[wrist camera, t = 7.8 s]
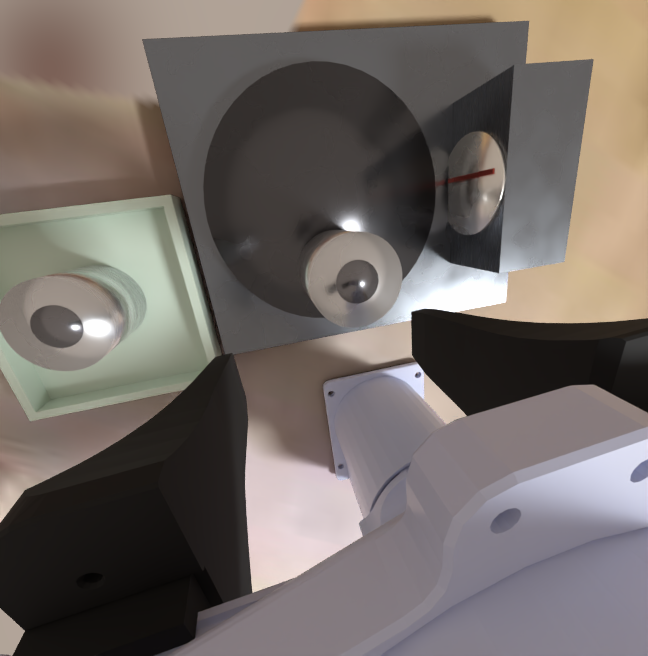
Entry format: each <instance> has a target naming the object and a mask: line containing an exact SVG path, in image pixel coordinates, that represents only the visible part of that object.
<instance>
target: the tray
mask: <svg viewBox="0 0 648 656" xmlns="http://www.w3.org/2000/svg"><path fill="white" fill-rule="evenodd" d="M88 265H107V266H111V267H114V268H117V269H119V270H121V271H123V272H125V273H126V274H128V275H129V276H131V277H132V278H133V279H134V280H135V281H136V282H137V283H138V285H139V286H140V287H141V289H142V291H143V293H144V295H145V298H146V304H147V310H146V315H145V318H144V320H143V322H142V324H141V325H140V326H139V327H138V328H137V329H136V330H135V331H134V332H133V333H131V334H130V335H129V336H128V337H127V338H126V339H124V340H123V341H122V342H121V343H120V344H119V345H117V346H116V347H115V348H114V349H113V350H112V351H110V352H109V353H108V354H107V355H106V356H104V357H103V358H102V359H101V360H100V361H98V362H97V363H95V364H94V365H92V366H90V367H87V368H84V369H80V370H75V371H56V370H50V369H46V368H43V367H40V366H37V365H35V364H33V363H31V362H29V361H27V360H26V359H24V358H22V357H21V356H20V355H19V354H17V353H16V352H15V351H14V350H13V349H12V348H11V347H10V346H9V344H8V343H7V342H6V340H5V339H4V337H3V335H2V333H1V331H0V369H1V370H2V372H3V374H4V376H5V378H6V379H7V381H8V383H9V385H10V387H11V388H12V390H13V392H14V394H15V396H16V397H17V399H18V401H19V403H20V405H21V406H22V408H23V410H24V412H25V414H26V415H27V417H28V419H29V421H35V420H40V419H45V418H50V417H55V416H59V415H64V414H69V413H74V412H79V411H84V410H89V409H94V408H99V407H103V406H108V405H113V404H118V403H123V402H128V401H133V400H138V399H143V398H147V397H152V396H157V395H162V394H167V393H172V392H177V391H182V390H185V389H186V388H187V387H188V386H189V385H190V384H191V383H192V382H193V381H194V379H195V378H196V377H197V376H198V375H199V374H200V373H201V372H202V371H203V370H204V368H205V367H206V366H207V365H208V364H209V363H210V362H211V361H212V360H213V359H214V358H215V357H216V356H221V355H222V353H221V349H220V345H219V341H218V338H217V334H216V330H215V327H214V323H213V319H212V315H211V312H210V308H209V304H208V300H207V297H206V293H205V289H204V285H203V282H202V278H201V274H200V270H199V267H198V263H197V259H196V255H195V252H194V248H193V244H192V241H191V237H190V233H189V229H188V226H187V222H186V218H185V214H184V211H183V207H182V203H181V199H180V197H177V196H174V195H171V194H170V195H162V196H153V197H145V198H136V199H128V200H119V201H110V202H102V203H93V204H85V205H76V206H68V207H59V208H51V209H42V210H33V211H25V212H16V213H8V214H0V303H1V300H2V299H3V297H4V295H5V294H6V293H7V292H8V291H9V290H10V289H11V288H13V287H14V286H15V285H17V284H19V283H21V282H24V281H27V280H30V279H34V278H38V277H42V276H46V275H51V274H55V273H59V272H63V271H67V270H71V269H75V268H79V267H84V266H88Z"/></svg>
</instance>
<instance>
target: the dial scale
mask: <svg viewBox="0 0 648 656" xmlns="http://www.w3.org/2000/svg"><path fill="white" fill-rule="evenodd" d="M528 28H529V21H516V22H495V23H474V24H453V25H432V26H411V27H390V28H369V29H348V30H327V31H306V32H285V33H264V34H243V35H223V36H201V37H180V38H161V39H143V40H142V41H143V44H144V48H145V51H146V56H147V60H148V63H149V67H150V71H151V75H152V78H153V82H154V86H155V90H156V94H157V98H158V101H159V105H160V109H161V113H162V117H163V120H164V124H165V128H166V132H167V135H168V139H169V143H170V147H171V151H172V154H173V158H174V162H175V166H176V170H177V173H178V177H179V181H180V185H181V189H182V192H183V196H184V200H185V204H186V208H187V211H188V215H189V219H190V223H191V227H192V230H193V234H194V238H195V242H196V246H197V249H198V253H199V257H200V261H201V265H202V268H203V272H204V276H205V280H206V284H207V287H208V291H209V295H210V299H211V303H212V306H213V310H214V314H215V318H216V322H217V325H218V329H219V333H220V337H221V340H222V344H223V348H224V352H225V354H230V353H233V355H234V354H239V353H245V352H250V351H255V350H260V349H265V348H270V347H276V346H281V345H286V344H291V343H296V342H301V341H307V340H312V339H317V338H322V337H327V336H333V335H338V334H343V333H348V332H353V331H358V330H364V329H369V328H374V327H379V326H384V325H389V324H395V323H400V322H405V321H410V320H411V312H412V311H416V310H420V309H425V308H427V309H439V310H445V311H451V312H457V311H462V310H467V309H472V308H477V307H483V306H488V305H493V304H498V303H503V302H506V295H507V283H508V272H510V271H515V270H521V269H527V268H532V267H538V266H543V265H549V264H555V263H560V262H564V260H565V253H566V246H567V239H568V232H569V226H570V219H571V212H572V205H573V198H574V191H575V184H576V177H577V170H578V163H579V156H580V149H581V142H582V135H583V129H584V122H585V115H586V108H587V101H588V94H589V87H590V80H591V73H592V66H593V59H589V60H575V61H561V62H546V63H532V64H526V53H527V41H528ZM328 230H346V231H359V232H368V233H372V234H375V235H377V236H379V237H381V238H383V239H384V240H385V241H387V242H388V243H389V244H390V245H391V246H392V247H393V249H394V250H395V252H396V254H397V255H398V257H399V260H400V263H401V267H402V285H401V289H400V293H399V295H398V298H397V300H396V302H395V303H394V305H393V306H392V308H391V309H390V310H389V311H388V312H387V313H386V314H385V315H384V316H383V317H382V318H380V319H379V320H377V321H376V322H374V323H372V324H369V325H367V326H363V327H356V328H349V327H343V326H339V325H337V324H334V323H332V322H331V321H329V320H328V319H326V318H325V317H324V316H323V315H322V314H321V313H320V312H319V310H318V309H317V308H316V306H315V305H314V303H313V302H312V300H311V299H310V297H309V296H308V294H307V293H306V291H305V290H304V288H303V286H302V285H301V282H300V279H299V275H298V262H299V258H300V255H301V252H302V250H303V249H304V247H305V245H306V244H307V243H308V242H309V241H310V240H311V239H312V238H313V237H315V236H316V235H318V234H320V233H322V232H325V231H328Z"/></svg>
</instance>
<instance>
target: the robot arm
mask: <svg viewBox="0 0 648 656" xmlns="http://www.w3.org/2000/svg"><path fill="white" fill-rule="evenodd" d="M411 326H412V356H413V357H414V359H415V360H416V362H412V363H408V364H403V365H398V366H394V367H389V368H384V369H380V370H375V371H370V372H366V373H361V374H356V375H352V376H347V377H342V378H338V379H333V380H328V381H326V382H325V383H324V385H323V391H324V398H325V405H326V412H327V419H328V425H329V432H330V439H331V446H332V453H333V459H334V466H335V473H336V477H337V479H338V480H345V479H349V478H350V481H351V484H352V487H353V490H354V493H355V496H356V498H357V501H358V504H359V507H360V510H361V513H362V516H363V518H364V519H363V520H362V521H360V523H359V526H360V529H361V532H362V535H363V537H361V538H360V539H358V540H357V541H355V542H353V543H352V544H350V545H348V546H347V547H345V548H343V549H342V550H340V551H338V552H337V553H335V554H333V555H332V556H330V557H329V558H327V559H325V560H324V561H322V562H320V563H319V564H317V565H315V566H314V567H312V568H310V569H309V570H307V571H305V572H304V573H302V574H301V575H299V576H297V577H296V578H293V579H290V580H288V581H285V582H282V583H279V584H276V585H274V586H271V587H268V588H265V589H262V590H259V591H257V592H254V593H252V585H251V572H250V560H249V547H248V532H247V517H246V498H245V464H246V447H247V429H248V414H247V402H246V396H245V392H244V389H243V386H242V383H241V379H240V376H239V373H238V369H237V366H236V363H235V359H234V356H233V353H230V354H225V355H221V356H216V357H215V358H214V359H213V360H212V361H211V362H210V363H209V364H208V365H207V366H206V367H205V368H204V370H203V371H202V372H201V373H200V374H199V375H198V376H197V377H196V378H195V379H194V381H193V382H192V383H191V384H190V385H189V386H188V387H187V388H186V389H185V390H184V391H183V392H182V393H181V394H180V395H178V396H177V397H176V398H175V399H174V400H173V401H172V402H171V403H170V404H169V405H168V406H166V407H165V408H164V409H163V410H162V411H160V412H159V413H158V414H157V415H155V416H154V417H153V418H152V419H150V420H149V421H148V422H146V423H145V424H143V425H142V426H140V427H139V428H137V429H136V430H134V431H133V432H131V433H130V434H129V435H127V436H126V437H124V438H123V439H121V440H120V441H118V442H116V443H115V444H113V445H111V446H110V447H108V448H106V449H105V450H103V451H101V452H99V453H98V454H96V455H94V456H92V457H91V458H89V459H87V460H85V461H83V462H81V463H80V464H78V465H76V466H74V467H72V468H70V469H68V470H66V471H64V472H62V473H60V474H58V475H56V476H54V477H52V478H50V479H48V480H46V481H44V482H41V483H39V484H37V485H35V486H33V487H31V488H29V489H27V490H25V491H24V492H23V494H22V495H21V496H20V498H19V499H18V500H17V502H16V503H15V504H14V506H13V507H12V508H11V510H10V511H9V512H8V514H7V515H6V516H5V518H4V519H3V520H2V521H1V523H0V608H1V609H2V610H3V611H4V612H5V613H6V614H7V615H8V616H10V617H11V618H12V619H13V620H14V621H15V622H16V623H17V624H18V625H19V626H20V627H22V628H23V629H24V630H25V632H24V634H23V636H22V638H21V640H20V642H19V644H18V646H17V648H16V650H15V652H14V654H13V656H648V318H647V319H637V320H627V321H616V322H598V323H533V322H519V321H508V320H500V319H493V318H486V317H480V316H474V315H468V314H462V313H457V312H451V311H445V310H439V309H427V308H425V309H420V310H416V311H412V312H411ZM417 372H419V374H418V375H416V376H415V374H416V373H417ZM424 372H425V374H426V375H427V376H428V377H429V378H430V379H431V380H432V381H433V382H434V383H435V384H436V385H437V386H438V387H439V388H440V389H441V390H442V391H443V392H444V393H445V394H446V395H447V396H448V397H449V398H450V399H451V400H452V401H453V402H454V403H455V404H456V405H457V406H458V407H459V408H460V409H461V410H462V411H463V412H464V413H465V414H466V415H467V416H466V417H463V418H460V419H456V420H454V421H453V422H451V423H449V424H446V423H445V422H444V421H443V420H442V419H441V418H440V417H439V415H438V414H437V413H436V412H435V411H434V410H433V409H432V408H431V407H430V406H429V405H428V404H427V403H426V402H425V400H424ZM330 391H333V393H332V394H331V395H329V394H328V393H329V392H330ZM340 464H342V465H341V466H339V465H340ZM0 656H10V655H3V654H0Z"/></svg>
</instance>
